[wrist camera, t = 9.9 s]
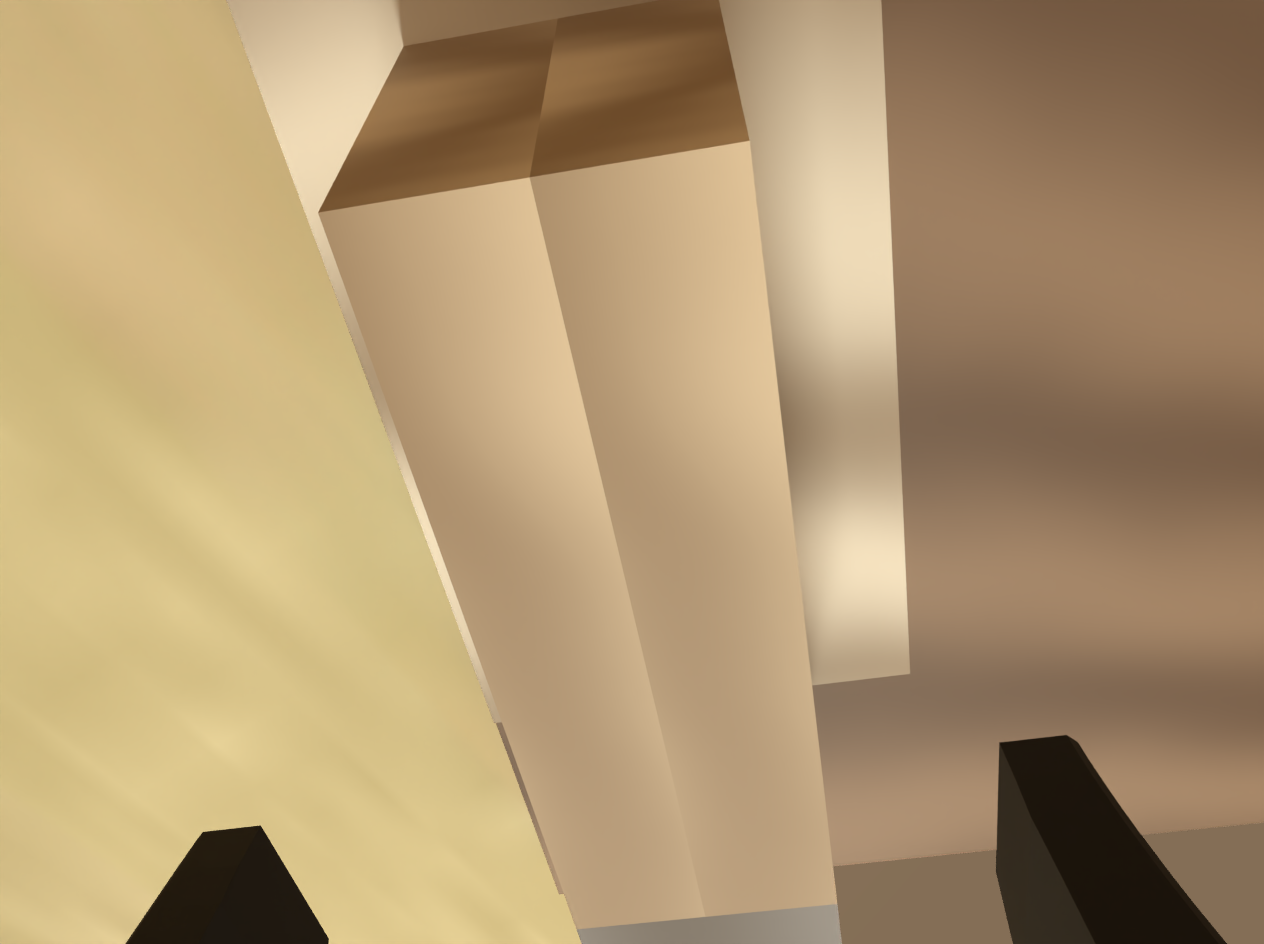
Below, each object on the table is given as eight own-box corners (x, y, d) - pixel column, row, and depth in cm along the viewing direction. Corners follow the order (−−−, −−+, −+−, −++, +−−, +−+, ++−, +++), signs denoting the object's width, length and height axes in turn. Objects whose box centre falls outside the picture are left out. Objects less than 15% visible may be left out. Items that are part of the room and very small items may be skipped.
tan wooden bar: (716, -11, 14) (749, 140, 10) (805, 717, 22) (843, 960, 18) (403, 45, 15) (317, 212, 11) (602, 741, 23) (596, 983, 19)
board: (1278, 780, 25) (1302, 822, 24) (561, 855, 27) (558, 897, 26) (1615, -535, 12) (1690, -545, 11) (176, -229, 14) (146, -217, 13)
